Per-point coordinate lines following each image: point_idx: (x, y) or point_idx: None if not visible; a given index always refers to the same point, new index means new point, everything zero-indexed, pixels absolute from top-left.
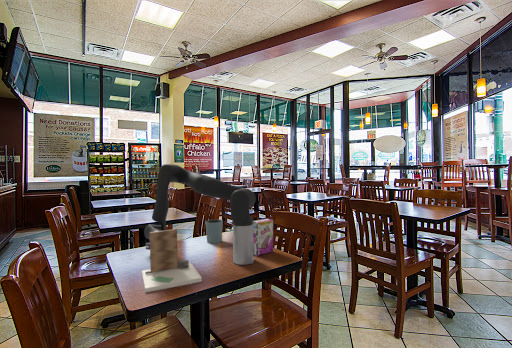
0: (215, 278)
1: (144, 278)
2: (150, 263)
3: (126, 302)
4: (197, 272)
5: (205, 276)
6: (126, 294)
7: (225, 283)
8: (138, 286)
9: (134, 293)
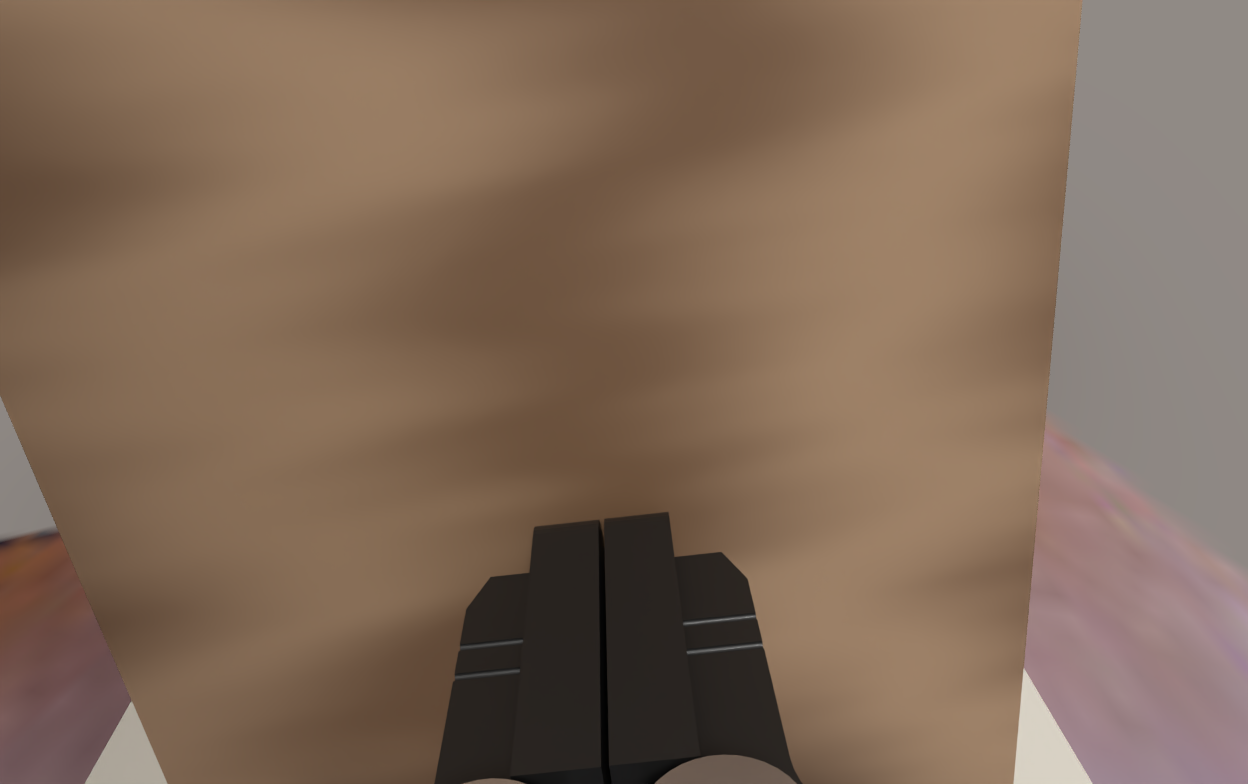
0: (21, 643)
1: (1039, 728)
2: (1007, 776)
3: (1051, 427)
4: (125, 719)
5: (63, 729)
6: (1147, 534)
7: (56, 530)
8: (1084, 680)
9: (1048, 535)
